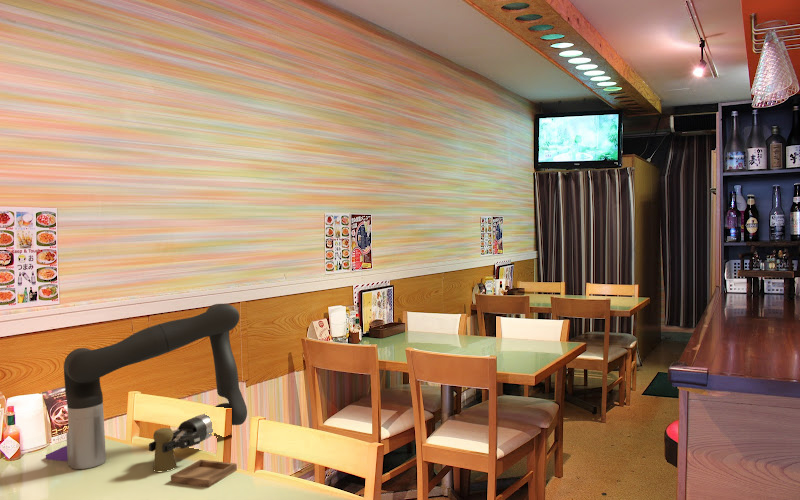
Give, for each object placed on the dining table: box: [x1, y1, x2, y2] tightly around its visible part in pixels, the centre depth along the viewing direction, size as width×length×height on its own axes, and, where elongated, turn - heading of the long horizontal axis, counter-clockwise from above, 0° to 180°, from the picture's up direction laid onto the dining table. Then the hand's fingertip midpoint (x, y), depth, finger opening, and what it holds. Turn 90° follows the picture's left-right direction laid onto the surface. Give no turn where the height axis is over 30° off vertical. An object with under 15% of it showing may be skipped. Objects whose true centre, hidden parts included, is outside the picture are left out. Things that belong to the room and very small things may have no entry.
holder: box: [170, 459, 238, 488], centre depth 168 cm, size 12×12×2 cm
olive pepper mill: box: [152, 427, 177, 472], centre depth 175 cm, size 6×6×11 cm
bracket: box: [45, 445, 68, 462], centre depth 188 cm, size 12×7×7 cm, turn 72°
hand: (156, 448), depth 172 cm, fingers closed on olive pepper mill, 4 cm apart
